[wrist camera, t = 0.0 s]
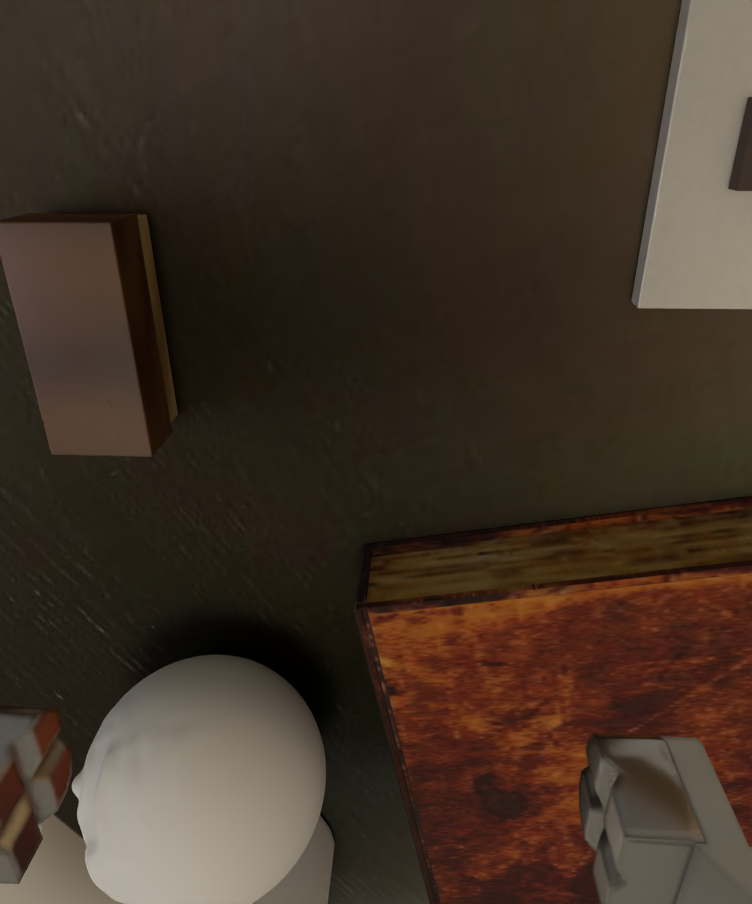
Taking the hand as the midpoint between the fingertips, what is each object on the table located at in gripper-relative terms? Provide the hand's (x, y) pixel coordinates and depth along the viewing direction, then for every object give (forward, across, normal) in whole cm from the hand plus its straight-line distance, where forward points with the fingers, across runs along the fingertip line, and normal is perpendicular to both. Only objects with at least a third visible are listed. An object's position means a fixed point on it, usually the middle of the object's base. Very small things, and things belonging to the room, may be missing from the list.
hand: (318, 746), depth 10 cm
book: (+21, -13, +23) cm, 34 cm away
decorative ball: (+21, +9, +21) cm, 31 cm away
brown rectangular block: (+21, +12, -1) cm, 24 cm away
